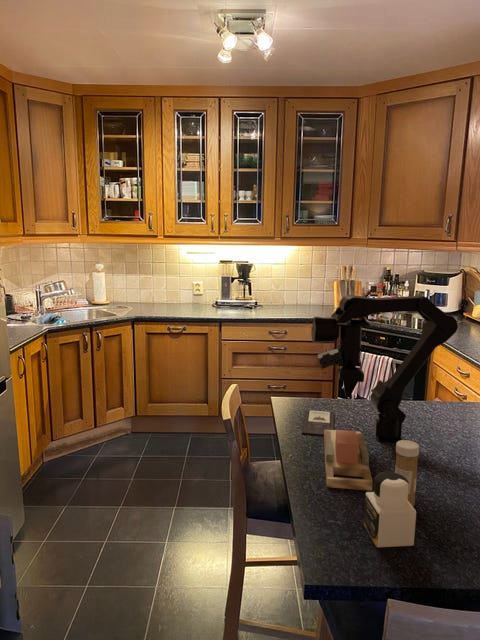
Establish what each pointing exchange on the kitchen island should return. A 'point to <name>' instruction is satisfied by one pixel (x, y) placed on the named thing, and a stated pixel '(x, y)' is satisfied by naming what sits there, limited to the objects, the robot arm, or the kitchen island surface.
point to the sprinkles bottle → (407, 465)
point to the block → (346, 447)
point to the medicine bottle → (390, 511)
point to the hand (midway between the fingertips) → (347, 397)
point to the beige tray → (346, 465)
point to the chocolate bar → (317, 422)
